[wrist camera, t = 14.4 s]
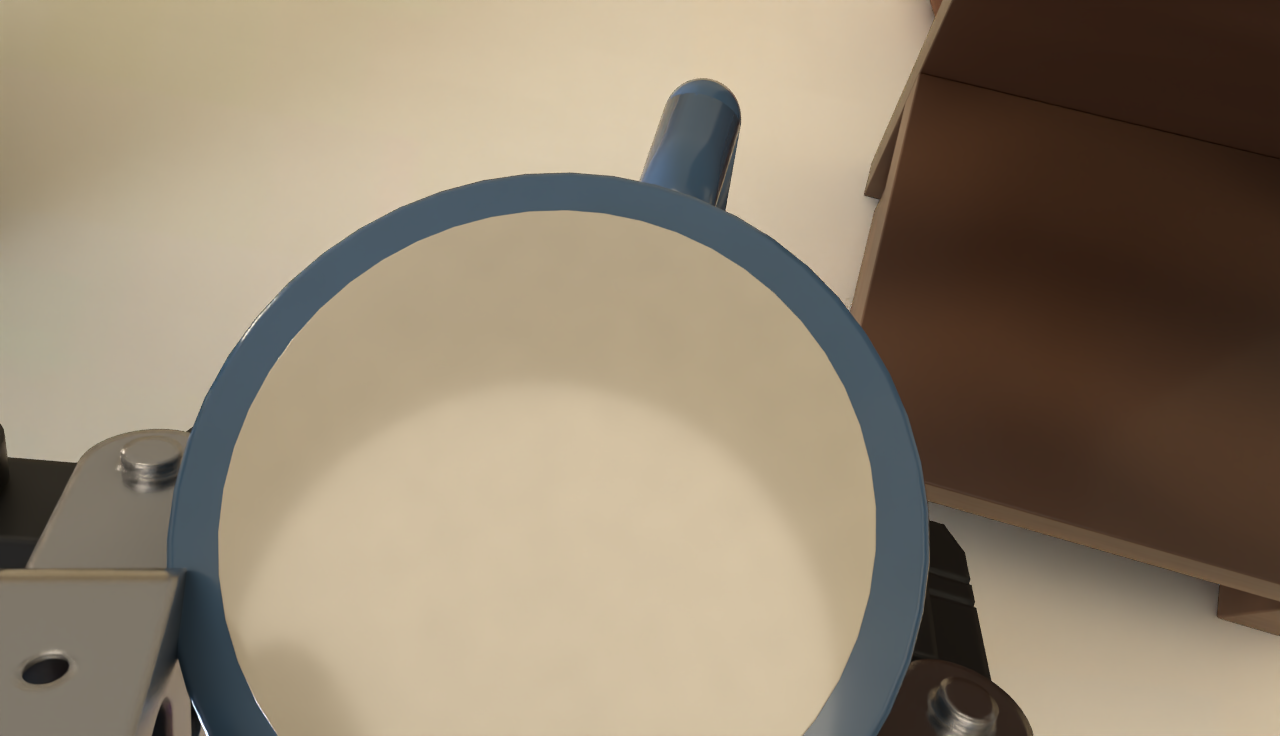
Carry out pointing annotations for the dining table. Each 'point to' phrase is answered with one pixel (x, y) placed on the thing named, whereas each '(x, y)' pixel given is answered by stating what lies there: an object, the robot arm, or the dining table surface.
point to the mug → (554, 476)
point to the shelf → (1092, 278)
